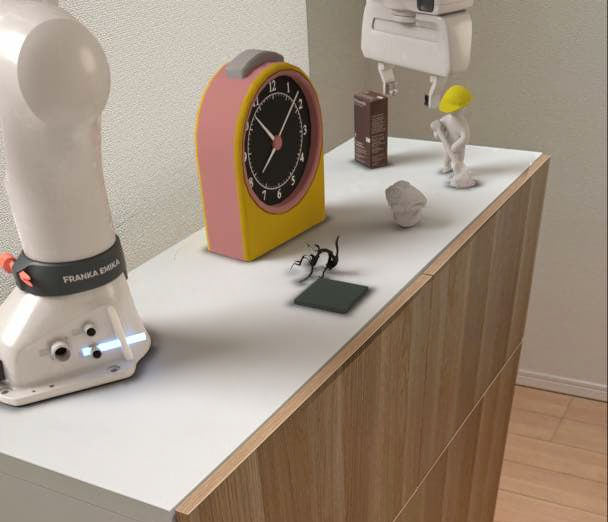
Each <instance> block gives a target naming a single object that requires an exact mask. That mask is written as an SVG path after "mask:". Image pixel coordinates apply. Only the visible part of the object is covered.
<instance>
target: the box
mask: <svg viewBox="0 0 608 522" xmlns="http://www.w3.org/2000/svg"><path fill="white" fill-rule="evenodd" d="M353 128H354V129H353V132H354V133H353V134H354V135H353V137H354V138H353V139H354V143H353V145H354V146H353V147H354V148H353V149H354V161H355V162H358V163H360V164H362V165H364V166H365V167H368V168H369V169H374V168H379V167H382V166H385V165H387V164H388V149H389V148H388V143H389V142H388V139H389V137H388V135H389V131H388V130H389V96H386V95H384V94H383V93H380V92H376V91H372V90H368V91H363V92H359V93H356V94H355V93H354V94H353Z"/></svg>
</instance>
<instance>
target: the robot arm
mask: <svg viewBox="0 0 608 522" xmlns="http://www.w3.org/2000/svg"><path fill="white" fill-rule="evenodd" d="M365 1H366V2H365V3H366V4H365V7H364V10H363V15H362V24H361V38H360V39H361V40H360V49H361V52H362V56H363V58H364V59H368V60H372V61H375V62H377V70H378V73H379V76H380V79H381V81H382V95H384V96H386V97H389V98H390V97H391V98H392V97H396V96H397V95H398V94H399V90H398V89H399V81H396V79H395V75H394V70H393V69H394V68H395V66H396V67H401V68H405V69H409V70H413V71H416V72H421V73H424V74H425V73H426V74H429V82H430V83H431V87H430V89H429V92H428V93H424V104H423V105H424V108H428V109H430V110H433V109H437V108H439V105H440V103H441V94H442V92H443V90H444V89H445V86H446V84H447V83H448V80H449V79H451V78H455V77H459V76H462V75H464V74H465V73H466V72H467V70H468V68H469V67H470V62H471V56H472V54H471V53H472V41H473V38H472V37H473V21H472V17H471V14H470V12H469V11H468V10H469V9H471V8H472V7H473V5H474V0H365ZM59 5H60V0H0V130H1V134H2V143H3V151H4V160H5V175H4V178H3V186H4V191H5V194H6V197H7V200H8V204H9V207H10V210H11V214H12V217H13V220H14V224H15V228H16V230H17V233H18V238H19V240H20V244H21V247H22V249H21V251H20V253H19V254H18V256H17V257H14V255H12V254H11V253H9V252H2V253H1V254H0V268H1V269H2V270H3V271H5V272H6V273H7V274H10V275H12V277H13V280H14V282H15V285H16V286H15V287H14V289H13V290H12V291H11V292H10V294H9V295H8V296H7V297H6V298H5V300H4V301H3V303H2V304H1V305H0V402H1V403H3V404H6V405H9V406H14V407H15V406H16V407H19V406H24V405H28V404H32V403H36V402H39V401H43V400H44V401H45V400H47V399H51V398H55V397H59V396H63V395H66V394H70V393H74V392H78V391H82V390H84V389H89V388H93V387H97V386H101V385H105V384H108V383H112V382H117V381H120V380H124V379H128V378H130V377H131V376H133V375H134V374H135V371H136V368H137V364H138V363H139V362H140V360H141V359H142V358H144V357H145V356H146V354H147V353H148V351H149V350H150V348H151V345H152V340H151V339H152V338H151V335H150V334H149V332H148V331H147V329H146V327H145V325H144V323H143V321H142V319H141V317H140V315H139V312H138V310H137V307H136V305H135V302H134V298H133V296H132V293H131V290H130V287H129V283H128V279H129V276H128V275H129V274H128V270H127V269H128V266H127V259H126V256H125V252H124V248H123V246H122V243H121V239H120V236H119V235H118V233H117V234H116V232H115V226H114V222H113V216H112V212H111V207H110V203H109V196H108V193H107V192H108V191H107V187H106V183H105V178H104V177H105V176H104V169H103V156H102V117H103V116H102V113H103V111H104V110H105V108H106V105H107V103H108V100H109V96H110V93H111V85H112V83H111V80H112V79H111V69H110V65H109V60H108V57H107V55H106V53H105V50H104V48H103V46H102V45H101V43H100V41H99V40H98V39H97V37H96V36H95V35H94V34H93V32H92V31H90V30H89V29H88V27H86V26H85V25H84V24H83V23H82V22H81V21H80V20H78V18H77V17H75V16H74V15H73V14H72V13H70V12H69V11H67V10H66V9H64V8H62V7H60V6H59Z"/></svg>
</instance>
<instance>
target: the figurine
mask: <svg viewBox="0 0 608 522" xmlns="http://www.w3.org/2000/svg"><path fill="white" fill-rule="evenodd" d="M472 101H473V95H472V93H471V91H470V90H469V89H468V88H467V87H465V86H464V85H460V84H456V85H455V84H454V85H453V86H450V87H449V88H448V89H447V90H446V91H445V93H444V95H443V96H442V98H441V99H440V105H439V107H438V109H439V111H440V112H442V113H444V114H445V113H446V114H445V115H444V116H442V117H441V118H440V119H436V120H434V121H432V122H431V123H430V129H431V130H432V131H433V138H434V139H435V140H437V141H441V143H442V145H443V147H444V149H443V169H442V173H443V174H446V173H449V172H450V171H451V170H452V171H453V173H454V175H453V176H452V177H451V178H450V181H449V185H450V187H452V188H457V189H467V188H470V187H471V188H472V187H475V186H476V183H477V182H476V181H475V180H474V179H473V178H472V175H471V172H470V170H468V167H467V165H466V164H465V163H464V162H465V156H466V155H465V154H466V146H467V145H468V144H469V142H470V139H471V131H470V126H469V122H468V121H467V119H466V118H465V117H464V116H463V112H464V111H465V110H466V108H467V106H468V105H469V104H471V103H472ZM445 132H446V133H447V134H446V135H445ZM452 164H453V165H452ZM452 166H453V167H452Z"/></svg>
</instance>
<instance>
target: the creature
mask: <svg viewBox="0 0 608 522" xmlns="http://www.w3.org/2000/svg"><path fill="white" fill-rule="evenodd" d="M340 237H341V235H337V237H336V238H335V242H334V246H335V254H334V251H332V250H331V249H329V248H325V247H322V248H320V245H319V244H316V243H315V244H314V246H315V248H317V249H314V248H313V247H312V246H311V245H310V244H308V243H307V242H306V241H304V242H305V244H306V245H307V248H308V250H309V251H310V252H309V255H308V254H304V255H302V256H301V258H300V260H294V262H293V263H292V265H291V266H290V271H291V270H292V269H293V267H294V266H295V265H296V266H298V267H301V266H302V263H303V260H304V259H306V260H307V261H308V263H307V264H306V265H307V266H309V267H310V272H309V274H308V276H307V277H305V278H302V279H301V280H299V281H298V283H303V282H304V281H306V280H308V279H309V278H312V275H313V274H314V270H315V269H317V268H319V267H322V268H323V269H324V270H323V271H322V275H318V276H316V278H320V277H321V278H325V272H326V271H327V270H328V271H329V272H331V270H332V269H334V268H336V267H337V266H338V264H339V259H340V258H339V252H340V251H339V250H340V249H339V239H340ZM310 248H311V249H312V250H313V252H315V253H316V254H313V253H312V252H311V249H310ZM322 253H327V256H328V258H327V261H326V264H325V267H324V266H323V265H321V266H320V265H319V266H316V265H317V263H318V261H319V259H320V258H321V255H322ZM306 256H307V257H306ZM315 266H316V267H315Z"/></svg>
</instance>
